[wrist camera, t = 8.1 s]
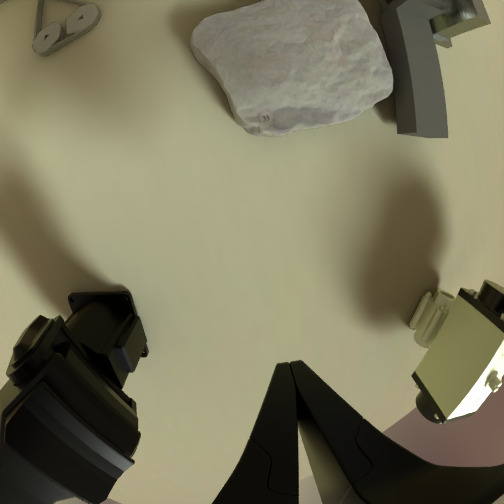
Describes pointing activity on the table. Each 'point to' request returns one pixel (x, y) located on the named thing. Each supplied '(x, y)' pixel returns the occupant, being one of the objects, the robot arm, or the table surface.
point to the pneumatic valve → (459, 351)
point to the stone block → (294, 63)
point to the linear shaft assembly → (458, 20)
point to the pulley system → (53, 33)
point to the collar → (415, 66)
